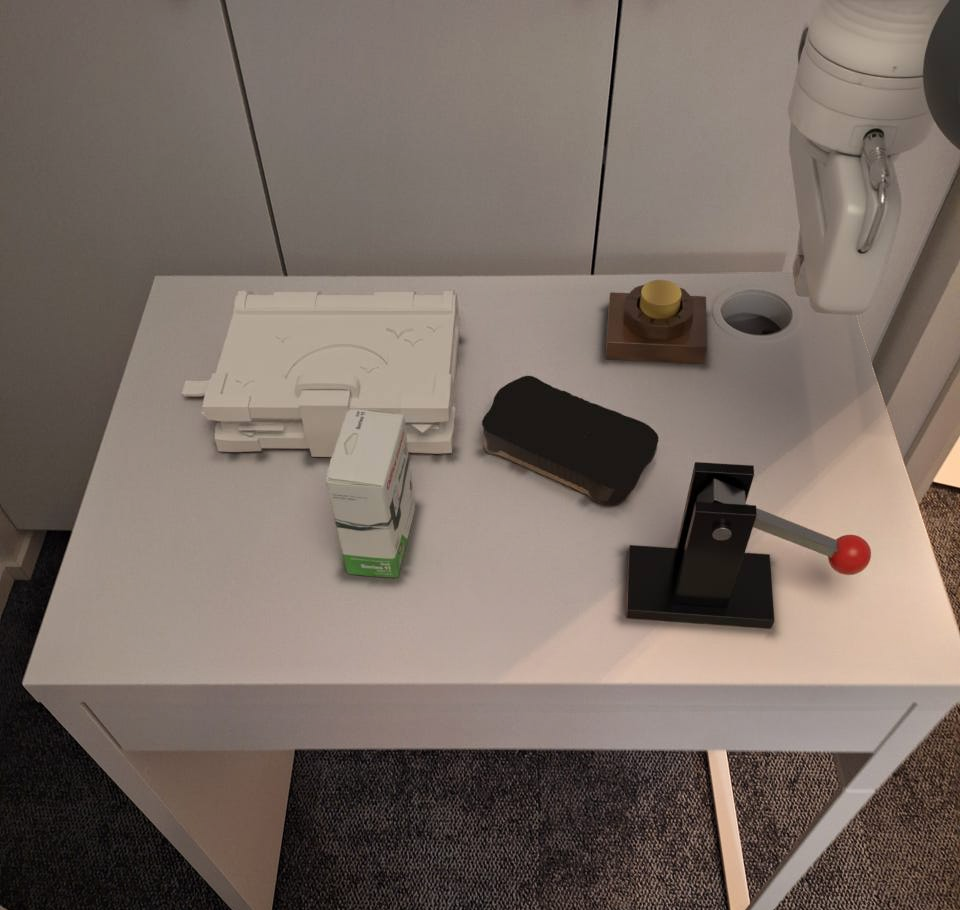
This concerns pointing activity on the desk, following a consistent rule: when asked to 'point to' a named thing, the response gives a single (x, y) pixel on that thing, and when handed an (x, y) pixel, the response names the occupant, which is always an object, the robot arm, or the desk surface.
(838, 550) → the lever
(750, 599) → the bracket
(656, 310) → the button
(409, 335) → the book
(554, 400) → the black sponge
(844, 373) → the desk surface
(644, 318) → the button block
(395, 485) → the ink box
